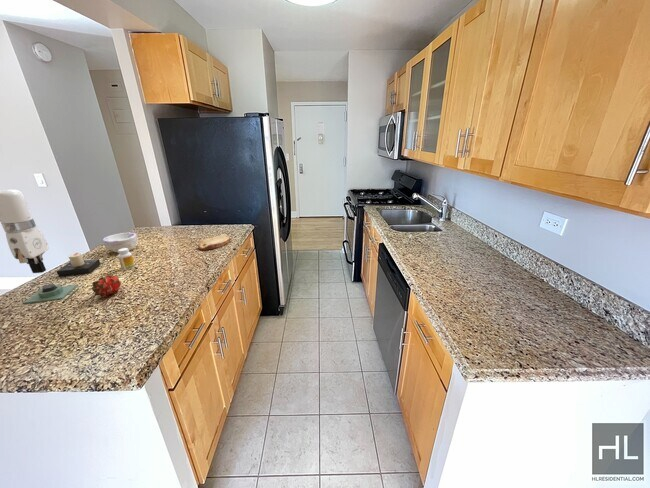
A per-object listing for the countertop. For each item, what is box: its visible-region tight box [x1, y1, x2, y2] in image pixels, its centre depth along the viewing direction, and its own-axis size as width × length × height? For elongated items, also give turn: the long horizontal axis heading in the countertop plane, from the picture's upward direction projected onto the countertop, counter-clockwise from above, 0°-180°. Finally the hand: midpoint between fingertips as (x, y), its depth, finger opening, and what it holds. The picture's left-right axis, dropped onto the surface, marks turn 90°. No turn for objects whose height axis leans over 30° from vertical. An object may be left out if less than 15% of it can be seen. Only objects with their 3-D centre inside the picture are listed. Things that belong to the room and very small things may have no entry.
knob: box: [68, 252, 85, 267], centre depth 122 cm, size 4×4×5 cm
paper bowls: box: [102, 232, 139, 254], centre depth 146 cm, size 15×15×8 cm
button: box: [41, 283, 56, 292], centre depth 101 cm, size 4×4×2 cm
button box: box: [22, 284, 80, 305], centre depth 102 cm, size 12×10×4 cm
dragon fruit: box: [91, 274, 122, 298], centre depth 104 cm, size 8×8×12 cm
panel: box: [56, 258, 102, 278], centre depth 123 cm, size 12×10×3 cm
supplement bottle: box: [117, 248, 136, 271], centre depth 125 cm, size 5×5×10 cm
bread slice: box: [197, 234, 232, 251], centre depth 155 cm, size 18×18×4 cm
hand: (39, 271), depth 98 cm, fingers closed
